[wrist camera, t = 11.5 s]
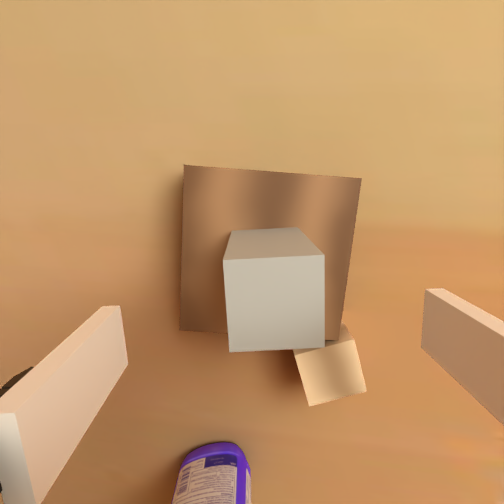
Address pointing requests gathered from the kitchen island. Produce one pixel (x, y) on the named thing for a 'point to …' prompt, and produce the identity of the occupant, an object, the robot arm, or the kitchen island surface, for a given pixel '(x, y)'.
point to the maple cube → (331, 369)
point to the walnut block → (260, 217)
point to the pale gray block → (274, 290)
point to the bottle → (214, 476)
